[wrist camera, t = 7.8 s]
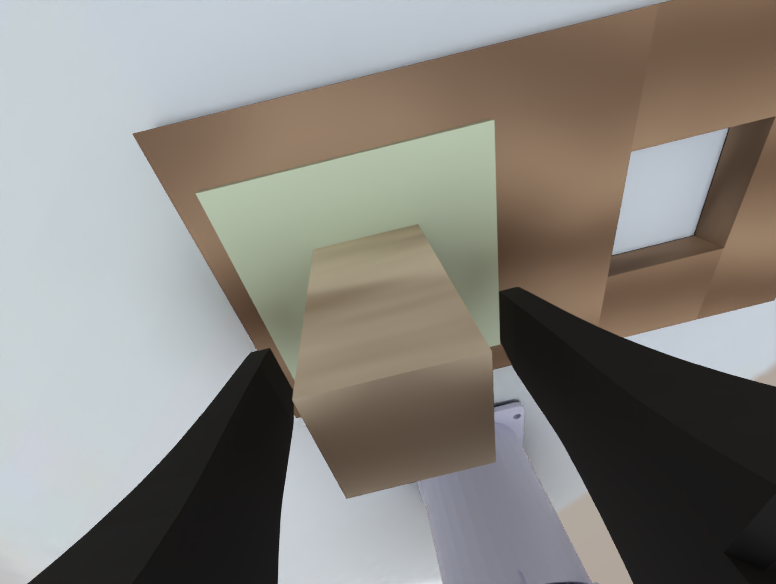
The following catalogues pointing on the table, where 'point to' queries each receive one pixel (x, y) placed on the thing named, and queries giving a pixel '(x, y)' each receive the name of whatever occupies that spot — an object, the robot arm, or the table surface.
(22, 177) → the table surface
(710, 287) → the walnut pocket board
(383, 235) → the maple block
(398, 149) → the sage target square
